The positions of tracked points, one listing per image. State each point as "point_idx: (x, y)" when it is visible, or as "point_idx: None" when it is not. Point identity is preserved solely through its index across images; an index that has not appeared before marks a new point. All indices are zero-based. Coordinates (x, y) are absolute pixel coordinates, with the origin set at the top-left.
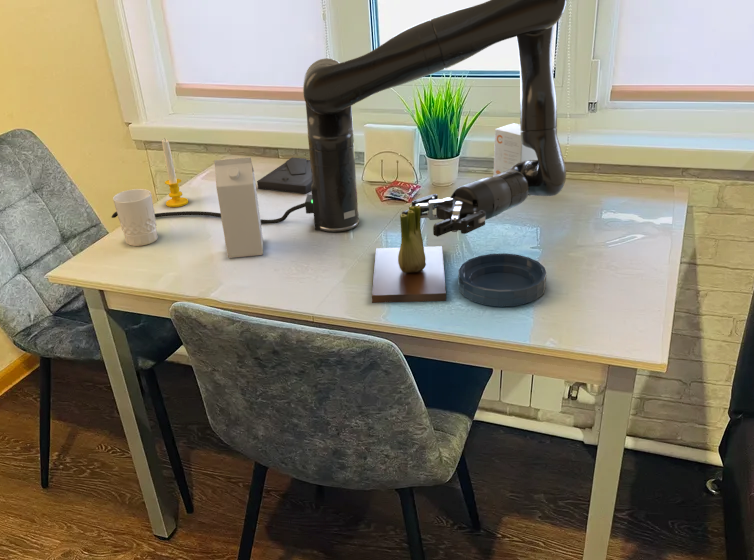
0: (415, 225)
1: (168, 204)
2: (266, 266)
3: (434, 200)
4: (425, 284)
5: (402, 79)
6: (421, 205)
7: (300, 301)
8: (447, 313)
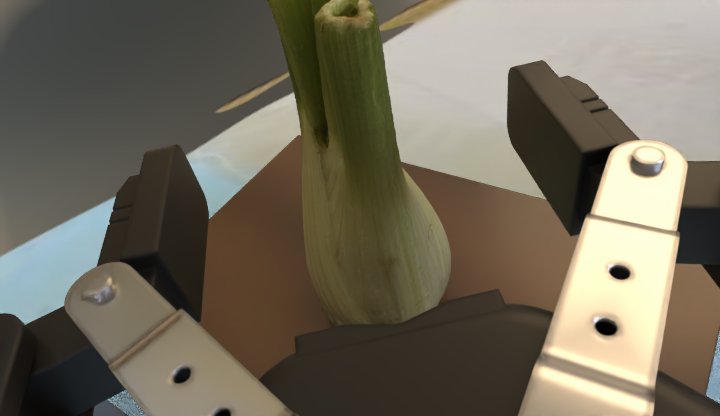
0: (326, 108)
1: None
2: (713, 13)
3: (652, 277)
4: (228, 286)
5: None
6: (617, 174)
7: (434, 48)
8: (61, 303)
